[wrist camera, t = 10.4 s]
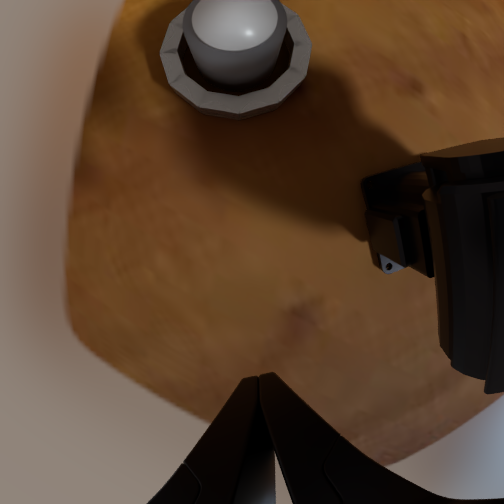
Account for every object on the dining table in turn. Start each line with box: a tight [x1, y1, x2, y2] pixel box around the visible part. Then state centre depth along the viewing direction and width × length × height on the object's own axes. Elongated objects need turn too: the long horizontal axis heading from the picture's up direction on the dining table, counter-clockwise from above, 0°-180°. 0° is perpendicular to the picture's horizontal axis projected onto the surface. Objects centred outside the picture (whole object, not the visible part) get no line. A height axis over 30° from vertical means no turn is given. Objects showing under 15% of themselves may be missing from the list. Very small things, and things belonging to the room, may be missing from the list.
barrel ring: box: [160, 3, 312, 120], centre depth 15 cm, size 8×8×2 cm
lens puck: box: [182, 0, 287, 91], centre depth 14 cm, size 5×5×5 cm
